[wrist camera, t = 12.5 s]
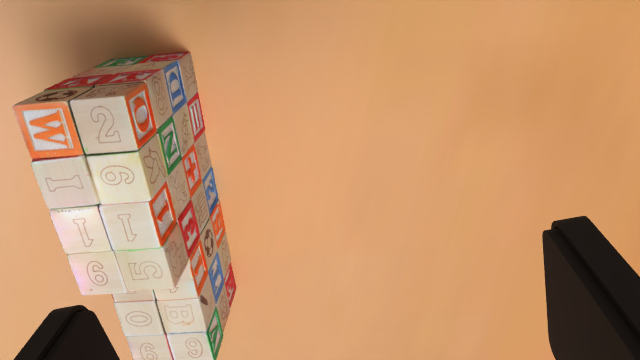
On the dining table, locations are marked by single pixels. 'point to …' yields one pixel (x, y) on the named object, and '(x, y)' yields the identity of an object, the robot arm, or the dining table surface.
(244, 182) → the dining table surface
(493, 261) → the dining table surface
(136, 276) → the stack of blocks
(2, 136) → the dining table surface
